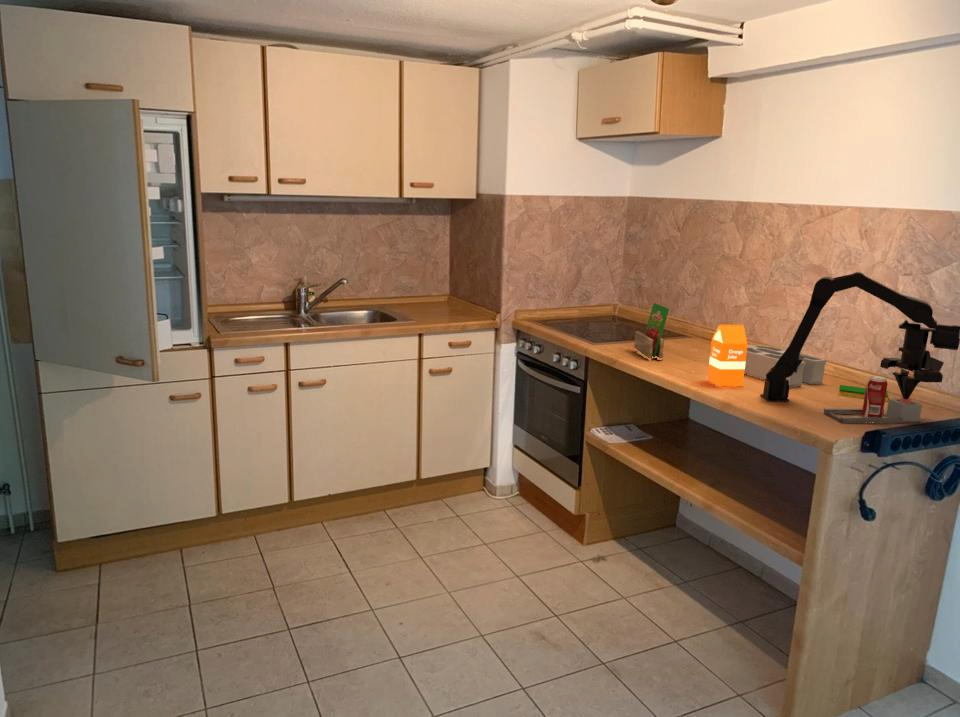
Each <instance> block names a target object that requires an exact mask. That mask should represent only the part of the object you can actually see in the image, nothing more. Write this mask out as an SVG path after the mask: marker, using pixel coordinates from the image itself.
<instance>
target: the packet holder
mask: <svg viewBox="0 0 960 717" xmlns="http://www.w3.org/2000/svg"><path fill="white" fill-rule="evenodd" d="M644 334H645V333H642V332H641V331H639V330H637V331H635V333H634V346H633V349H634V348H636V349H637V350H638V351H640V352H641V353H642V354H644V355H645V356H647V357H648V358H652V349H653V339H651V338H649V337H647V336H646V335H644ZM664 346H665V340H664V338H661V339H660V343H659V346H658V349H657V353H656V356H657V357H659V358H662V359H663V356H664Z"/></svg>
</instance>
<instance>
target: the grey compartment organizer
mask: <svg viewBox="0 0 960 717" xmlns="http://www.w3.org/2000/svg"><path fill="white" fill-rule="evenodd" d="M785 351H786V349H784V348H780V347H775V346H769V345H761V344H760V345H758V344H757V345H756V344H748V345H747V353H746V363H745V370H744V373H745V374H748V375H752V376H755V377H757V378H756V379H758V378H761V379H763V380H762V381H764V380H765V378H766V374H767V373H768V371H769V370H770V369H771V368H772V367H774V366H775V364H776V363H777V361H778V360H779V359H780V357H781V356H782V355H783V353H784V352H785ZM800 356H801V357H804V359H803V361H802V362H801V364H800V365H799V369H798V371H797V373H795V371H794V373H793V374H792V376H790V377H787V378H786V379H787V380H789V385H790V388H789V389H791V387H793V388H799V387H798V386H800V387H801V385H802V384H805V383H808V384H807V385H809V384H816V385H821V384H823V380H824V375H825V367H826V366H827V359H826V358H825V359H824V358H821V357H817V356H812V355H808V354H803V353H802V352H801V353H800ZM748 375H747V376H748ZM761 379H760V380H761ZM802 382H804V383H802ZM820 383H821V384H820Z"/></svg>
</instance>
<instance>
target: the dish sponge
mask: <svg viewBox="0 0 960 717" xmlns="http://www.w3.org/2000/svg"><path fill="white" fill-rule="evenodd" d="M865 390H866V387H861V386H860V387H859V386H854V385H853V386H852V385H846V384H839V387H838V396H841V395H842V396H843V397H848V396H851V397H850V398H855V397H857V398H858V399H863V398H864V397H865ZM888 392H889V391H888V390H886V397H885V402H887V403H888V401H889V393H888Z"/></svg>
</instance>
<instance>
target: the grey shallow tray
mask: <svg viewBox="0 0 960 717" xmlns="http://www.w3.org/2000/svg"><path fill="white" fill-rule="evenodd" d="M862 410H863V408H823V414H824V415H826V416H827V415H828V416H827V417H829V416H830V418H831V417H832V418H831V419H833V418H834V419H833V420H835V419H836V420H835V421H837V420H838V421H837V422H840V423H841V422H842V423H841V424H903V423H904V421H903V418H901V417H889V416H882V417H862V416H841V417H840V415H835V414H862ZM883 414H885V408H884V409H883ZM866 422H867V423H866ZM870 422H871V423H870ZM872 422H874V423H872ZM877 422H878V423H877ZM881 422H882V423H881Z"/></svg>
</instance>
